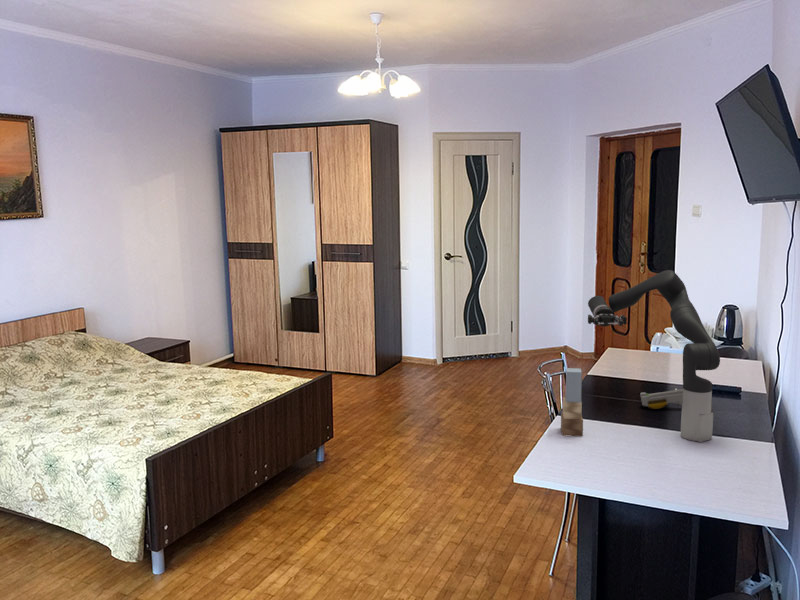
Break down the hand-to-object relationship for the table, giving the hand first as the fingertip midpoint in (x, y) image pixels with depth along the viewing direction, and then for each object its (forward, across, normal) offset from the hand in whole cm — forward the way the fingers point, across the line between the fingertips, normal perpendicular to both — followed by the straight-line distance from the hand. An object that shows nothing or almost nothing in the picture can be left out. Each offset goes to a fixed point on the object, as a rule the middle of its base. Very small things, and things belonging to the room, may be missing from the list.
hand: (609, 323), depth 248 cm
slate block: (+20, -14, +24) cm, 35 cm away
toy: (-10, +27, +36) cm, 47 cm away
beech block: (+21, -14, +30) cm, 39 cm away
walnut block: (+21, -14, +36) cm, 44 cm away
